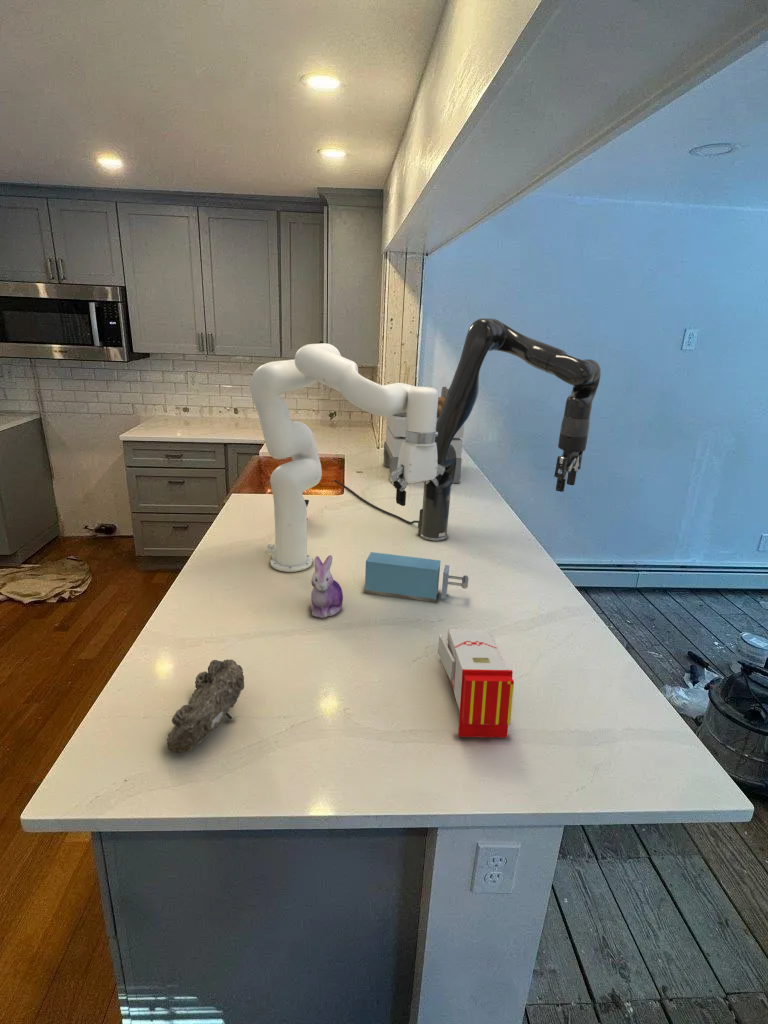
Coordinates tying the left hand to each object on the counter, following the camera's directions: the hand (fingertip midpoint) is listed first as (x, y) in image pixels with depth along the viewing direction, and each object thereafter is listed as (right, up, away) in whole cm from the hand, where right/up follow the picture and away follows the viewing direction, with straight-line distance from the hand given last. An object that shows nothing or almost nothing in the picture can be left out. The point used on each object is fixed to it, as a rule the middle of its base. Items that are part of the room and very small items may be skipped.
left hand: (415, 501), depth 148 cm
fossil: (-41, -42, -40) cm, 71 cm away
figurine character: (-39, -7, +56) cm, 69 cm away
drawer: (+2, -25, +10) cm, 27 cm away
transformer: (+9, +16, +127) cm, 128 cm away
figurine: (-23, -28, 0) cm, 37 cm away
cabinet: (-3, -25, +11) cm, 28 cm away
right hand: (+44, +4, +16) cm, 47 cm away
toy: (+10, -40, -30) cm, 51 cm away
